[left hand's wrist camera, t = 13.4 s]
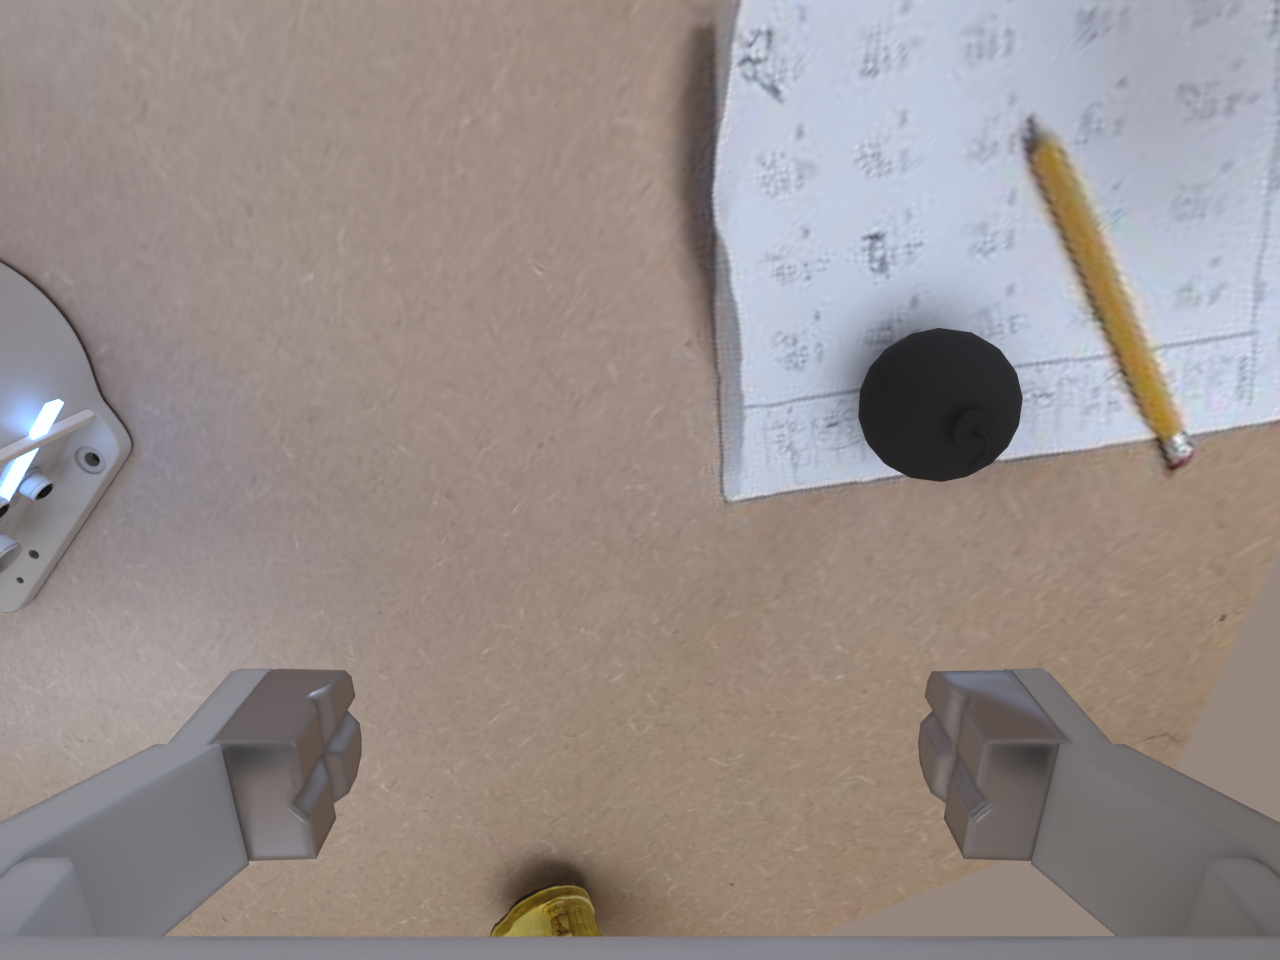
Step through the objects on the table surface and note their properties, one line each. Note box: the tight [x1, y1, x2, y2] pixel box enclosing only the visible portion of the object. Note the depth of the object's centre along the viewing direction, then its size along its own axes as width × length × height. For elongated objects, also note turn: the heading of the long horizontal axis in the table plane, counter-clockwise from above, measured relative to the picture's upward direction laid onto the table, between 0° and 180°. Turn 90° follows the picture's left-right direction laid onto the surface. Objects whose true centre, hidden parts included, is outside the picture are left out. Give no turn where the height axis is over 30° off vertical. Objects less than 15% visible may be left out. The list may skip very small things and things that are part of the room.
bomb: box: [858, 328, 1023, 482], centre depth 37 cm, size 8×8×12 cm
